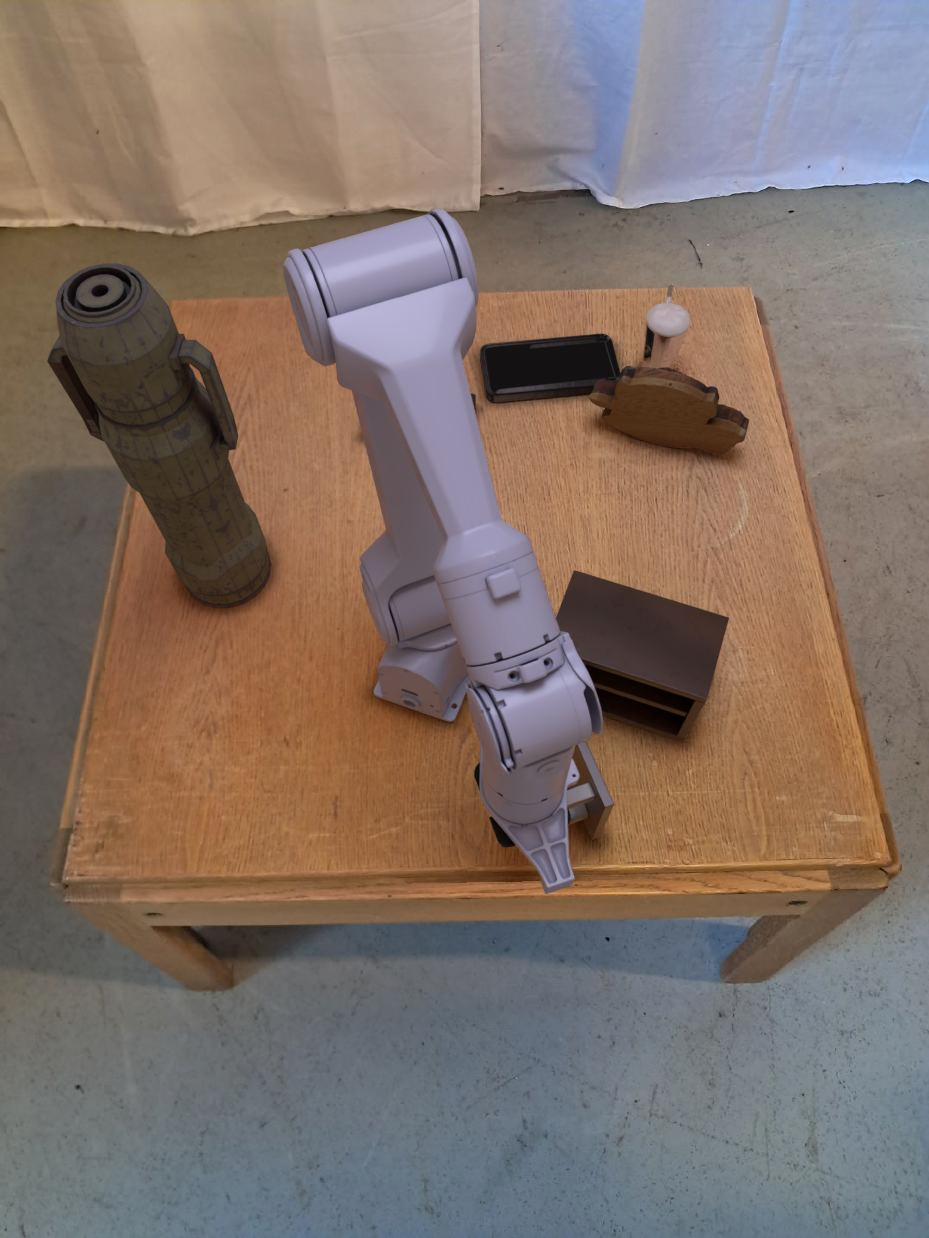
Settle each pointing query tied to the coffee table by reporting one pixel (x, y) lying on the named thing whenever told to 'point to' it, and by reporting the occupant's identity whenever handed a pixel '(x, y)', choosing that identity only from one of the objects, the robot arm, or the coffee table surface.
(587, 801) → the door
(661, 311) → the milkshake
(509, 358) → the phone
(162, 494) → the thermos
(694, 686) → the cupboard
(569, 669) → the robot arm
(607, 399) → the wooden carving
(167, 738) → the coffee table surface
